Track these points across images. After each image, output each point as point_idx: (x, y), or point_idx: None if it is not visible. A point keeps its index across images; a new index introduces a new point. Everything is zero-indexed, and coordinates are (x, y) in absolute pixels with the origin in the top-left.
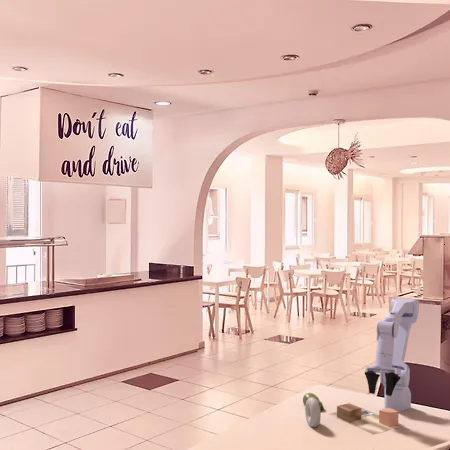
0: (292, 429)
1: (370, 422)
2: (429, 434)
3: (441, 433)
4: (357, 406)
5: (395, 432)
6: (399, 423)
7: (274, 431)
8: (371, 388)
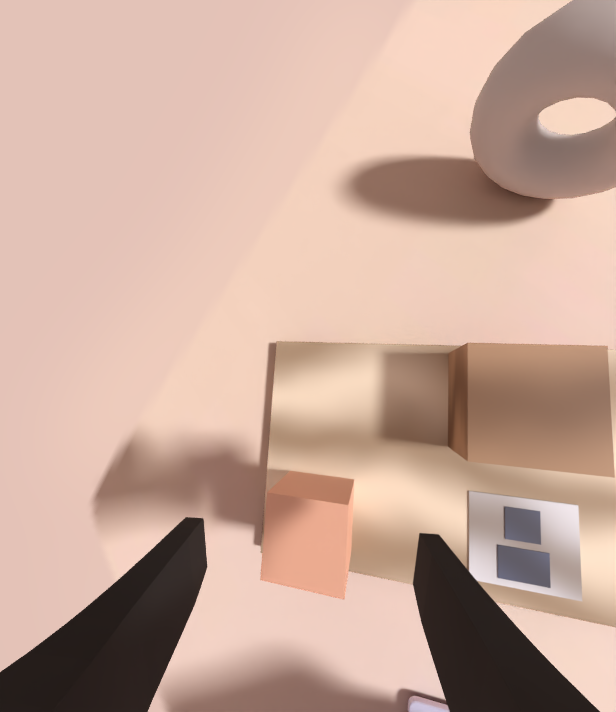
0: None
1: (384, 447)
2: None
3: None
4: (510, 464)
5: (257, 461)
6: None
7: None
8: (439, 593)
